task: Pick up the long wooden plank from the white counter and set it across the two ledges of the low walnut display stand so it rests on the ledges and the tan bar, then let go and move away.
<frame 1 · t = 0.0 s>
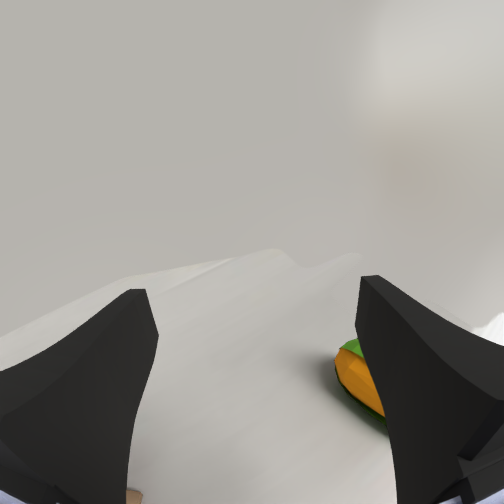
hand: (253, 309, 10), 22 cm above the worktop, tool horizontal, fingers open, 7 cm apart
corn: (399, 416, 28), on the worktop
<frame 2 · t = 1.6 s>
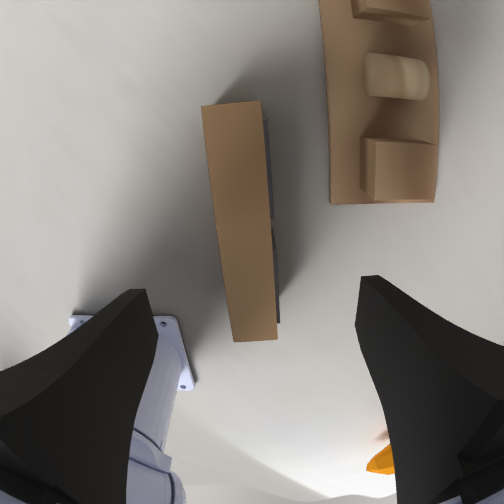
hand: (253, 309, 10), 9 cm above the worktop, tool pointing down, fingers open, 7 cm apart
long wooden plank: (246, 212, 19), on the worktop
corn: (435, 412, 30), on the worktop
display stand: (383, 78, 15), on the worktop
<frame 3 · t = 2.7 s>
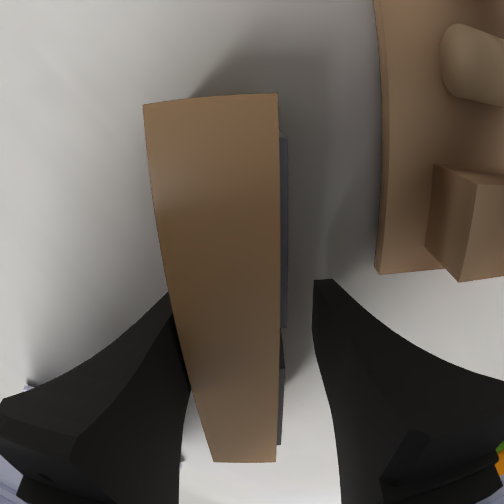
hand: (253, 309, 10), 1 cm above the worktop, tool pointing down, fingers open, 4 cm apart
long wooden plank: (237, 283, 12), on the worktop, touching gripper
display stand: (464, 70, 8), on the worktop
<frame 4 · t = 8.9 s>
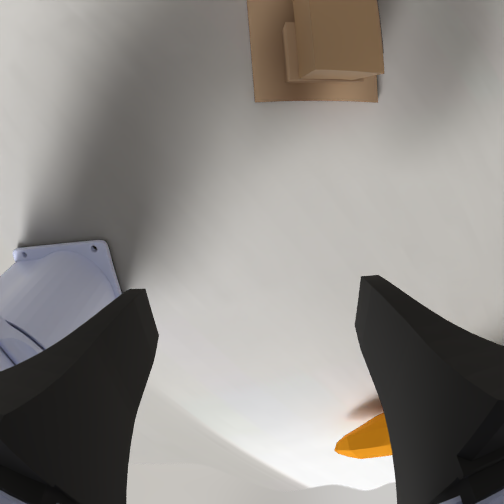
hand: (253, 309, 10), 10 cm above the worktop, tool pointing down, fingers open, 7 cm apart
corn: (416, 398, 29), on the worktop
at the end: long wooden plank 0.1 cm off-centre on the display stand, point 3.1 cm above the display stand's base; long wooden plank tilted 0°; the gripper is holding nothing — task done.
